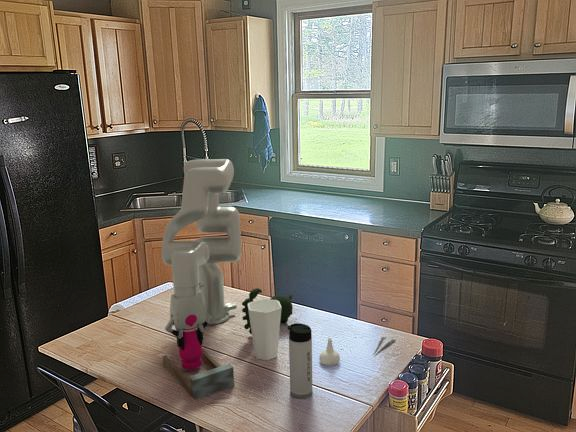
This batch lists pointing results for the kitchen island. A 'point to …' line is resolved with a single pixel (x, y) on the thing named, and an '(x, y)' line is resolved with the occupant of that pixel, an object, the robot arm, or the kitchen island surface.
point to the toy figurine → (284, 300)
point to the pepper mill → (191, 346)
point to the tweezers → (384, 345)
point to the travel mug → (300, 360)
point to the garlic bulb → (329, 355)
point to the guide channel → (204, 377)
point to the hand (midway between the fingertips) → (190, 345)
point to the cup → (265, 327)
